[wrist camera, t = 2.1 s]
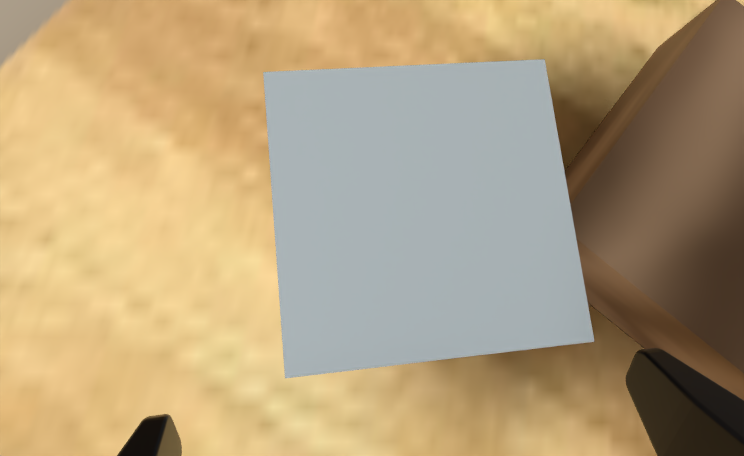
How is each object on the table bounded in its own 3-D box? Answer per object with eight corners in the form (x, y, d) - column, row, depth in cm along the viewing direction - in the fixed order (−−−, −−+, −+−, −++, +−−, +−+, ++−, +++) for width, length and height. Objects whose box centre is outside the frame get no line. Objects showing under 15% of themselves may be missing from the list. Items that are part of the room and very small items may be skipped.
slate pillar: (432, 328, 20) (594, 341, 8) (306, 342, 19) (284, 378, 7) (417, 207, 21) (544, 58, 9) (296, 216, 20) (263, 71, 8)
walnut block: (864, 209, 23) (976, 186, 19) (740, 426, 20) (841, 451, 16) (657, 47, 23) (725, -8, 19) (512, 241, 21) (557, 223, 17)
